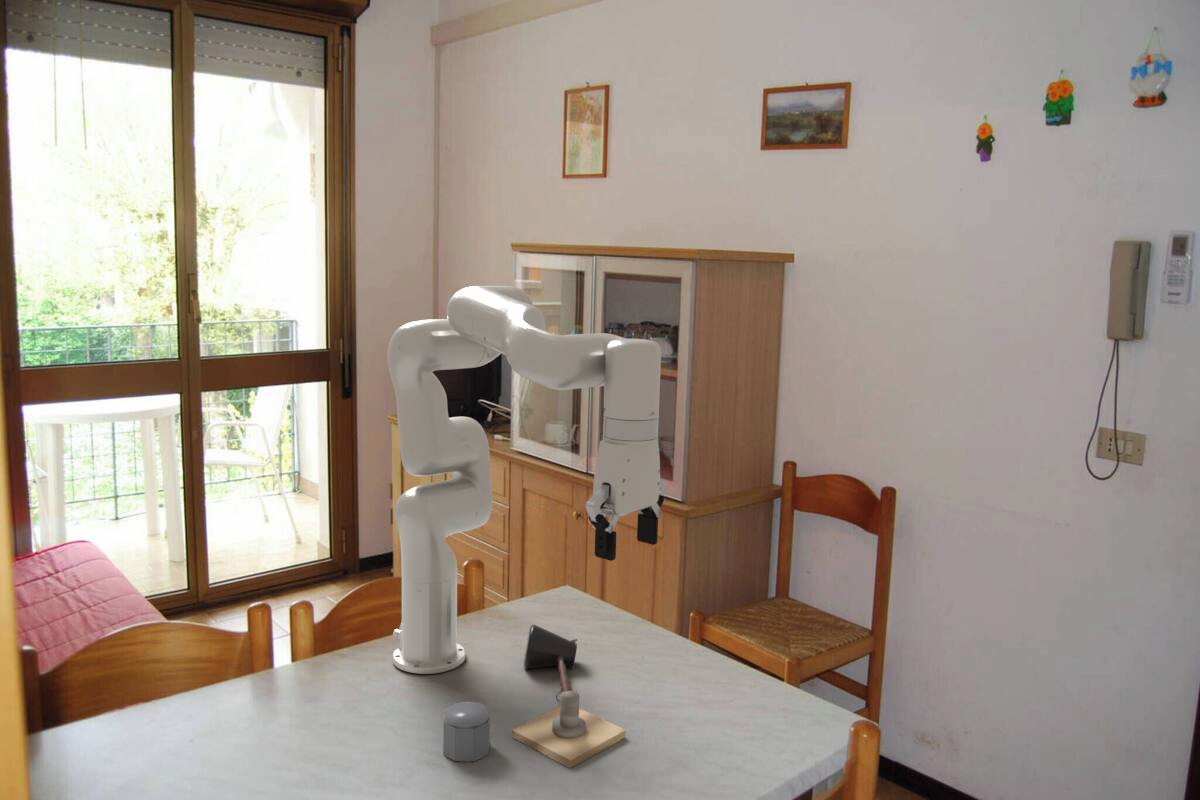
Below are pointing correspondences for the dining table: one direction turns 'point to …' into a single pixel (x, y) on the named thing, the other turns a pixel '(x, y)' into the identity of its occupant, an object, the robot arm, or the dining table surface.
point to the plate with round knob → (569, 732)
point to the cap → (466, 731)
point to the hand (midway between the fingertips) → (626, 550)
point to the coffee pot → (550, 653)
